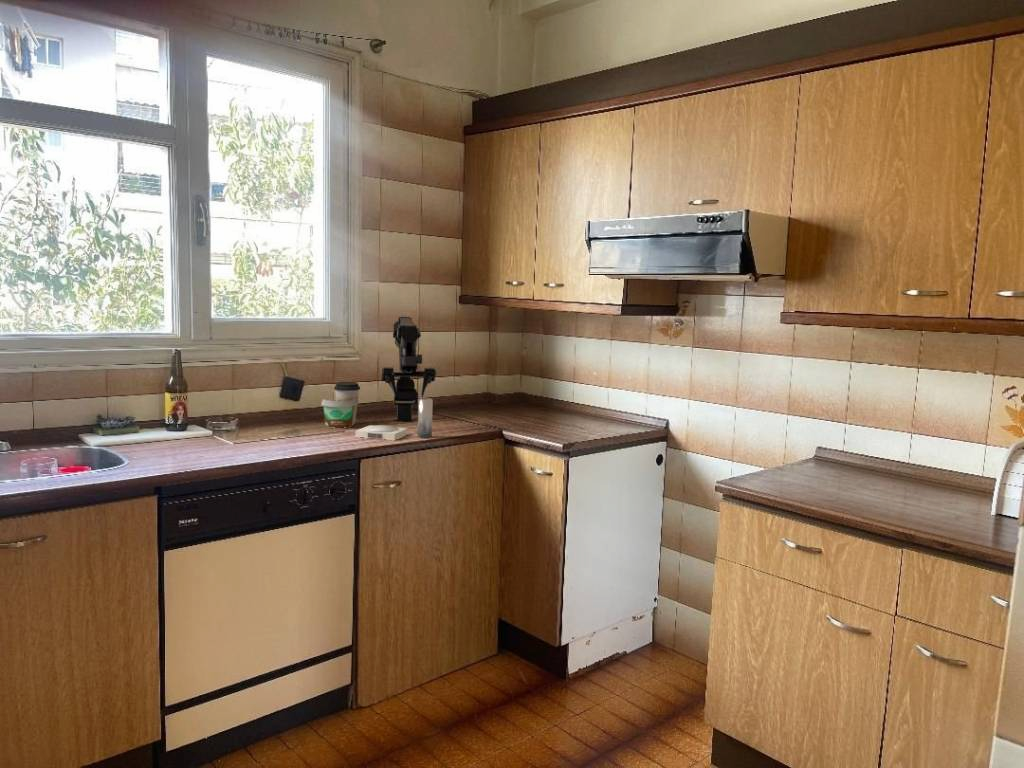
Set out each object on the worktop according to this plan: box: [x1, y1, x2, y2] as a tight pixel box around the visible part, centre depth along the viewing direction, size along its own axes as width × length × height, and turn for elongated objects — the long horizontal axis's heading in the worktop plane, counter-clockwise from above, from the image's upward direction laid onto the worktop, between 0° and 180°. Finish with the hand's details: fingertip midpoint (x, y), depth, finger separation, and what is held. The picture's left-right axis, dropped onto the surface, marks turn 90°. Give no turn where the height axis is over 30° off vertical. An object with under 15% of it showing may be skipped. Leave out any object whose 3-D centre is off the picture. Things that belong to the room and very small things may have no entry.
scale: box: [355, 424, 408, 441], centre depth 253 cm, size 12×14×3 cm
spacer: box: [417, 397, 433, 439], centre depth 254 cm, size 5×5×13 cm
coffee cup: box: [333, 381, 361, 425], centre depth 273 cm, size 9×9×15 cm
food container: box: [321, 398, 356, 429], centre depth 266 cm, size 12×6×10 cm, turn 105°
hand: (409, 396), depth 259 cm, fingers open, 9 cm apart
